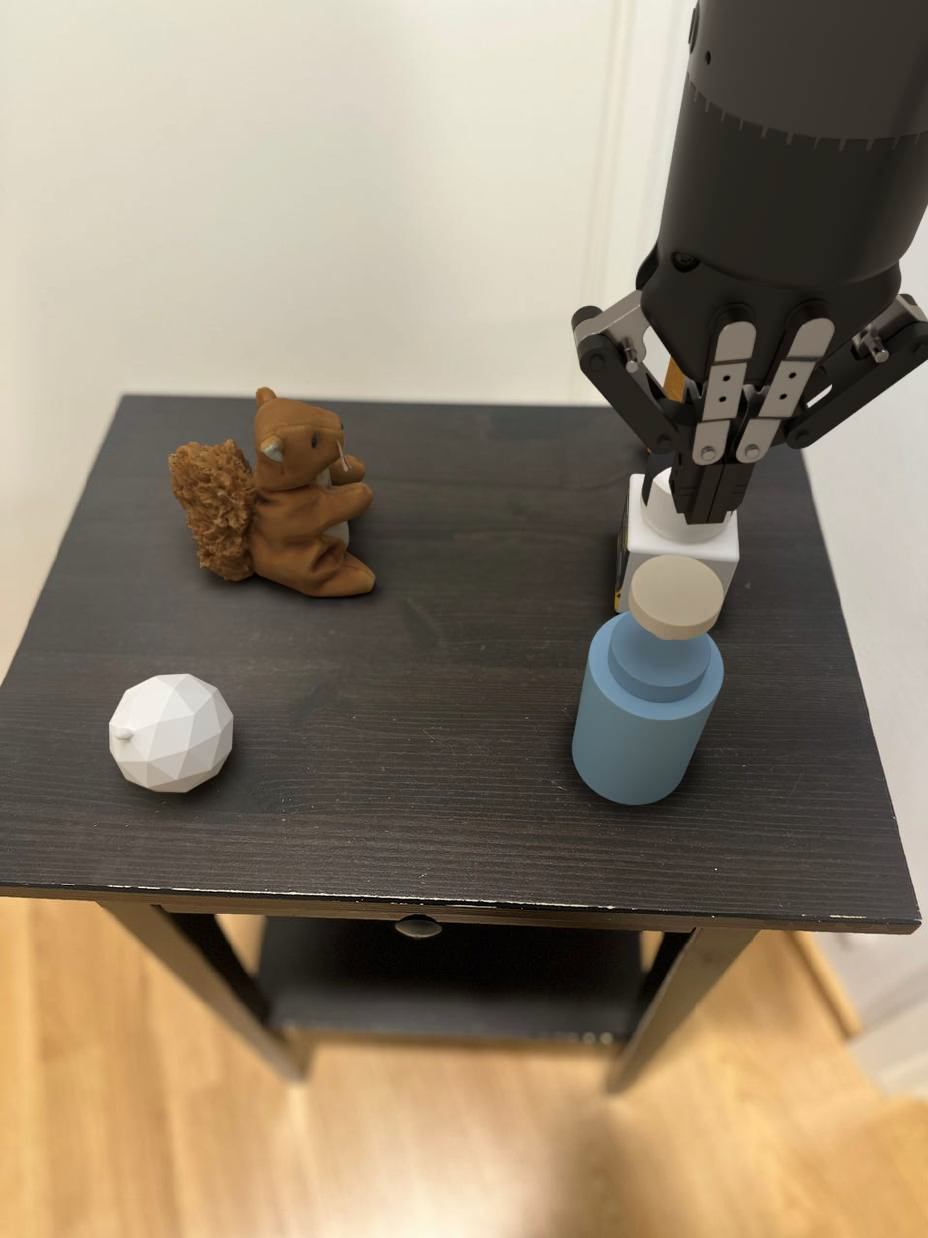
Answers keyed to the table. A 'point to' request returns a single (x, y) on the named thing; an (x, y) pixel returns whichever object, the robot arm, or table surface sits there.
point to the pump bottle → (642, 710)
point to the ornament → (171, 733)
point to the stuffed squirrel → (278, 501)
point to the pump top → (675, 597)
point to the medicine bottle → (668, 531)
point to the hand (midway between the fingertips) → (700, 509)
